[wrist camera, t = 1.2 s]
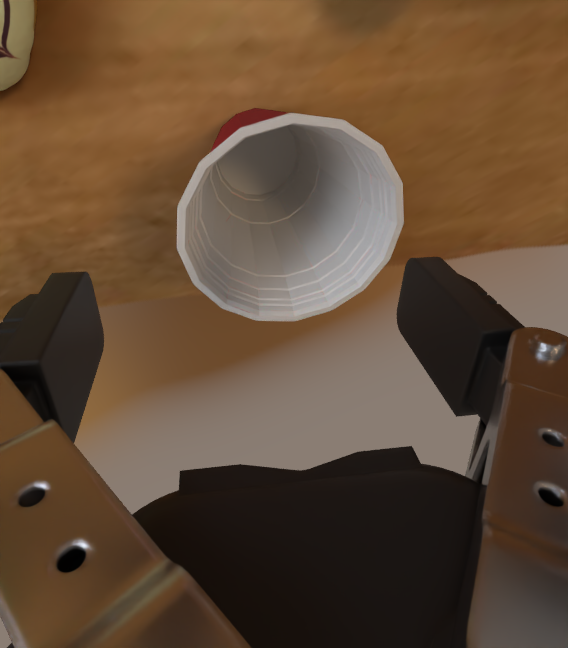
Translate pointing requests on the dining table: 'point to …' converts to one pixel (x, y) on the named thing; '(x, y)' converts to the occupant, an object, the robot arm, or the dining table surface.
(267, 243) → the plastic cup
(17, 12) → the decorated donut
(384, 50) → the dining table surface
